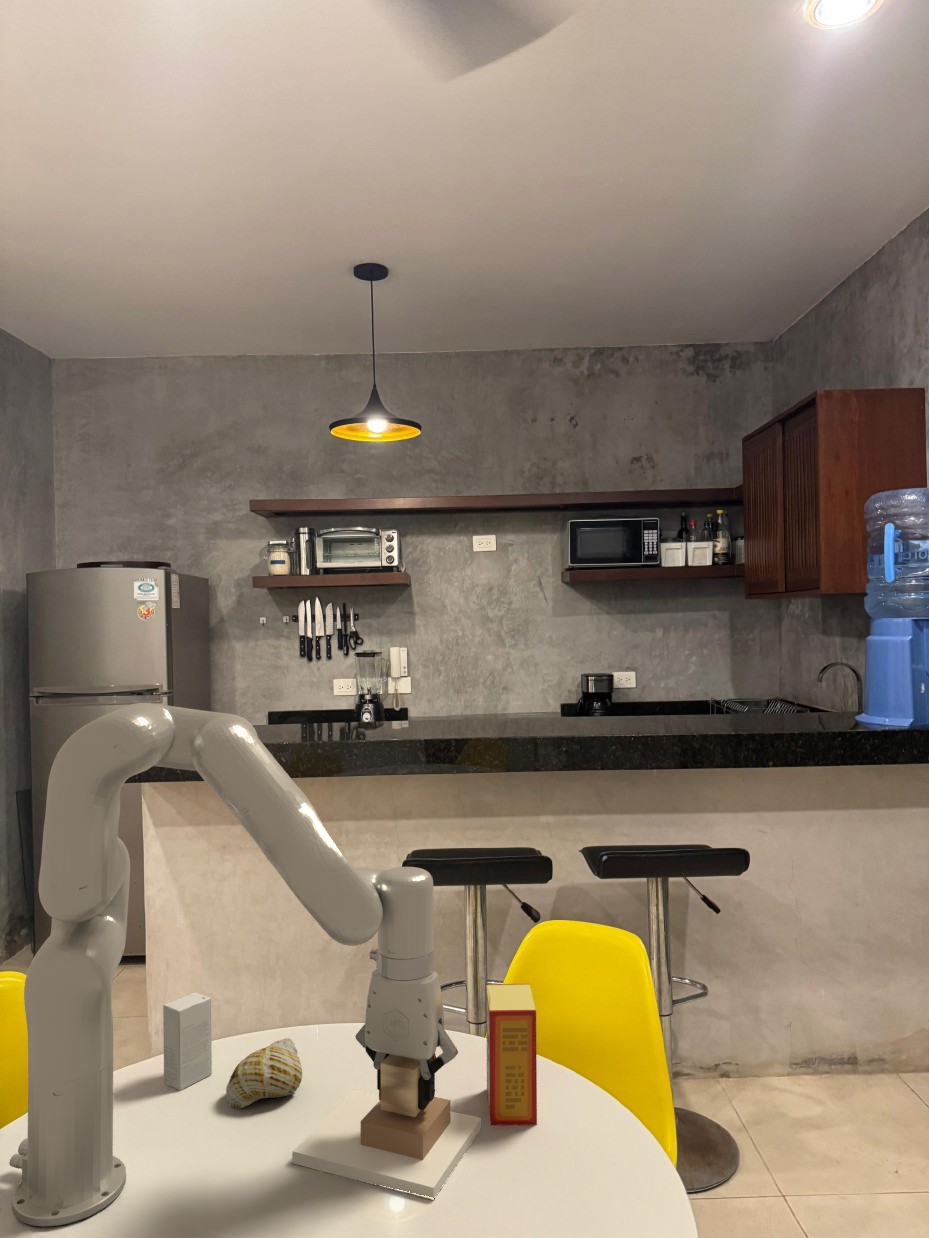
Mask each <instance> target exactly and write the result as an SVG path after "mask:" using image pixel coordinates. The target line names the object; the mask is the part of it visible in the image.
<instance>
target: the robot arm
mask: <svg viewBox="0 0 929 1238" xmlns="http://www.w3.org/2000/svg"><path fill="white" fill-rule="evenodd" d="M152 767H161V768H162V767H163V768H170V769H177V770H185V771H192V772H193V771H194V772H197V773H198V774H199V775H200V777H201V778H202V780H203V781H204V782H205V783H206V784H207V785H208V787H209V788H210V789H211V790H212V791H213V793H214V794H215V795H216V796H217V797H218V799H219V800H220V801H221V802H222V803H223V804H224V806H225V807H226V808H227V809H228V810H229V812H230V813H231V814H232V815H233V816H234V817H235V819H236V820H237V821H238V822H239V824H240V825H241V826H242V827H243V829H244V830H245V831H246V832H247V833H248V834H249V837H251V838H252V840H254V842H255V844H257V846H258V847H259V849H260V850H261V852H262V853H263V855H264V857H265V858H266V859H267V860H268V862H269V863H270V864H271V866H273V867H274V869H275V870H276V871H277V873H278V874H279V876H280V877H281V878H282V880H283V881H284V882H285V884H286V885H287V887H289V889H290V890H291V892H292V893H293V895H294V896H295V897H296V898H297V900H298V901H299V902H300V904H301V905H302V906H303V907H304V908H305V909H306V911H307V912H308V913H309V915H310V916H311V918H313V919H314V920H315V921H316V923H317V924H318V925H319V926H320V927H321V929H322V930H323V931H324V932H325V933H326V935H328V936H329V937H330V938H331V939H332V940H334V941H335V942H336V943H339V944H341V945H343V946H349V947H350V946H351V947H352V946H353V947H354V946H359V945H362V944H365V943H368V941H370V940H371V939H373V938H374V937H375V935H376V934H377V949H372V948H371V950H370V951H369V959H370V960H372V961H375V962H376V969H375V970H373V971H372V973H371V977H370V982H369V986H368V992H367V993H368V994H367V998H366V999H367V1000H366V1007H365V1008H366V1009H365V1021H364V1022H365V1023H364V1024H363V1025H362V1027H360V1029H359V1030H358V1032H357V1033H355V1040H356V1041H357V1042H358V1043H359V1045H360V1046H361V1047H362V1048H363V1049H365V1053H366V1054H367V1056H368V1057H369V1058H370V1059H371V1060H372V1062H373V1068H374V1069H375V1070H376V1072H377V1073H376V1080H377V1081H376V1084H377V1085H376V1089H377V1090H378V1096H379V1100H380V1101H381V1063H382V1062H383V1061H384V1060H385V1059H386V1058H387V1057H388V1056H389V1055H390V1054H391V1055H396V1056H401V1057H406V1058H411V1059H417V1060H418V1062H419V1066H420V1070H421V1074H422V1076H421V1077H420V1078H419V1080H418V1108H419V1109H420V1110H424V1109H425V1108H426V1106H427V1105H428V1104H429V1103H430V1101H432V1100H433V1098H434V1097H435V1096H436V1094H435V1093H436V1088H435V1087H436V1084H435V1082H436V1074H437V1072H438V1071H439V1070H440V1069H441V1068H442V1067H444V1066H445V1065H446V1064H448V1063H449V1062H451V1061H453V1059H454V1058H456V1057H457V1055H458V1054H459V1050H458V1048H457V1046H456V1045H455V1044H454V1042H453V1040H452V1039H451V1038H450V1035H449V1034H448V1032H447V1031H446V1030H445V1014H444V1002H443V995H442V989H441V982H440V979H439V974H438V972H437V971H434V970H435V969H434V968H435V967H434V963H435V962H434V953H435V950H434V880H433V875H431V873H430V872H429V871H428V870H426V869H424V868H420V867H415V866H400V867H399V866H398V867H393V868H390V869H377V868H367V867H355V866H352V865H351V863H350V862H349V861H348V860H347V858H346V857H345V856H344V855H343V853H342V852H341V851H340V849H339V848H338V847H337V845H336V844H335V842H334V841H333V840H332V837H331V836H330V834H329V833H328V831H327V830H326V828H325V826H324V824H323V823H322V821H321V819H320V817H319V814H318V812H317V810H316V809H315V807H314V805H313V804H312V803H311V801H310V800H309V798H308V797H307V796H306V794H305V792H304V791H302V790H301V788H300V787H299V786H298V785H297V784H296V782H295V781H294V780H293V779H292V778H291V777H290V775H289V774H288V773H287V772H286V771H285V770H284V768H283V767H282V765H280V763H279V762H278V760H277V759H276V758H275V757H274V756H273V753H271V751H269V749H268V748H267V747H266V745H264V743H263V742H262V741H261V739H260V738H259V736H258V733H257V730H256V729H255V727H254V726H253V724H252V723H251V722H250V721H248V720H247V719H246V718H245V717H242V716H240V715H238V714H233V713H226V712H217V711H210V710H209V711H208V710H202V709H201V710H200V709H195V708H187V707H180V706H173V705H166V704H162V703H161V704H160V703H152V702H138V703H137V702H136V703H132V704H129V705H126V706H123V707H121V708H118V709H115V710H113V711H110V712H109V713H106V714H104V715H102V716H100V717H97V718H96V719H94V720H92V721H90V722H88V723H87V724H84V726H82V727H80V728H79V729H77V730H76V731H75V732H73V733H72V735H70V736H69V738H67V740H66V741H65V742H64V743H63V744H62V746H61V747H60V749H59V750H58V751H57V754H56V755H55V758H54V759H53V763H52V765H51V768H50V773H49V776H48V782H47V783H48V784H47V789H46V790H47V792H46V803H45V805H46V806H45V814H44V815H45V816H44V824H43V832H42V844H41V845H42V846H41V857H40V858H41V860H40V869H39V877H38V895H39V901H40V903H41V906H42V908H43V910H44V911H45V912H46V914H47V915H48V916H49V917H51V929H50V936H48V938H47V939H45V941H44V942H43V944H42V945H40V946H41V947H40V948H39V949H38V951H37V952H36V954H35V955H34V957H33V958H32V960H31V962H30V965H29V967H28V969H27V973H26V976H25V979H24V980H25V981H24V986H23V987H24V989H23V1002H24V1012H25V1019H26V1030H27V1076H28V1077H27V1137H26V1138H24V1139H23V1140H22V1141H21V1142H20V1144H19V1146H18V1148H17V1153H14V1154H13V1155H12V1156H11V1158H9V1167H13V1168H14V1169H20V1170H21V1182H20V1183H19V1184H18V1185H17V1187H16V1188H15V1190H14V1191H13V1195H12V1198H11V1199H12V1200H11V1201H12V1202H11V1203H12V1206H11V1209H12V1212H13V1215H14V1216H15V1218H16V1219H17V1220H19V1221H21V1222H22V1223H24V1224H28V1225H30V1226H35V1227H55V1226H63V1225H66V1224H72V1223H75V1222H78V1221H80V1220H83V1219H86V1218H88V1217H90V1216H92V1215H94V1214H96V1213H98V1212H99V1211H101V1210H104V1208H106V1207H107V1206H108V1205H109V1204H111V1203H113V1201H114V1200H115V1199H116V1198H117V1197H118V1196H119V1195H120V1194H121V1192H122V1191H123V1189H124V1187H125V1185H126V1181H127V1171H126V1170H127V1168H126V1166H125V1164H124V1162H123V1161H122V1160H121V1159H120V1158H118V1157H116V1156H114V1154H113V1153H114V1152H113V1149H114V1147H113V1145H114V1143H113V1142H114V1137H113V1136H114V1135H113V1134H114V1133H113V1132H114V1130H113V1129H114V1128H113V1127H114V1019H113V1018H114V1017H113V1016H114V1015H113V1007H112V1003H113V1002H112V993H113V992H112V990H113V989H112V987H113V981H114V977H115V975H116V972H117V971H118V966H119V965H120V962H121V960H122V958H123V955H124V952H125V948H126V941H127V930H128V913H129V897H130V895H129V894H130V883H131V882H130V881H131V859H130V854H129V851H128V848H127V847H126V844H125V843H124V841H123V840H122V839H121V838H120V837H119V823H120V814H121V791H122V788H123V786H124V784H125V782H126V781H127V780H128V779H130V778H131V777H133V776H135V775H138V774H140V773H143V772H145V771H148V770H149V769H151V768H152ZM438 1047H439V1048H440V1049H441V1050H442V1053H440V1054H439V1055H438V1056H436V1051H437V1048H438Z"/></svg>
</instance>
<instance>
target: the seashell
mask: <svg viewBox="0 0 929 1238" xmlns="http://www.w3.org/2000/svg"><path fill="white" fill-rule="evenodd" d="M234 1068H235V1069H234V1070H233V1072H232V1073H231V1075H230V1078H229V1080H228V1083H227V1085H226V1088H225V1091H226V1093H225V1095H226V1101H227V1103H228V1105H229V1106H230V1107H231V1108H233V1109H237V1110H238V1109H243V1108H245V1107H247V1106H249V1105H251V1104H252V1103H254V1102H256V1101H259V1100H260V1099H267V1098H275V1099H277V1098H283V1097H288V1096H290V1095H292V1094H294V1093H295V1092H296V1091H297V1090H298V1088H299V1087H300V1085H301V1082H302V1079H303V1068H302V1063H301V1061H300V1057H299V1056H298V1050H297V1047H296V1046H295V1043H294V1041H293V1039H291V1038H290V1037H287V1038H283V1039H280V1040H276V1041H274V1042H272V1043H271V1044H270V1045H267V1046H266V1047H263V1048H260V1049H258V1050H256V1051H254V1052H251V1053H250V1054H249V1055H247V1056H246V1057H245V1058H244V1059H241V1061H239V1063H238V1064H237V1065H236V1066H235V1067H234Z"/></svg>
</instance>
